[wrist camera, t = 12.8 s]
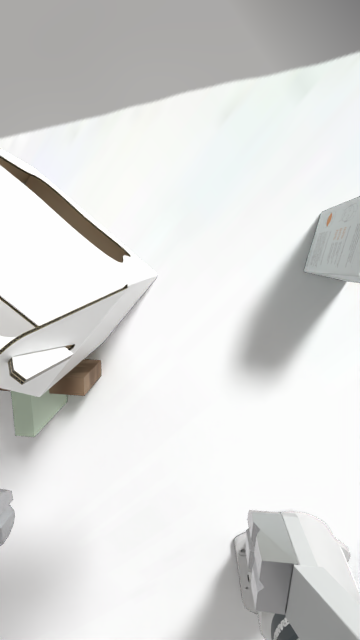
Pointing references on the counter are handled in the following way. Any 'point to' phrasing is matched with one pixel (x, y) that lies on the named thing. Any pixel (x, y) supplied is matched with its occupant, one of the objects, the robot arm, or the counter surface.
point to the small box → (337, 243)
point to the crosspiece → (34, 411)
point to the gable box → (56, 280)
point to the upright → (77, 379)
